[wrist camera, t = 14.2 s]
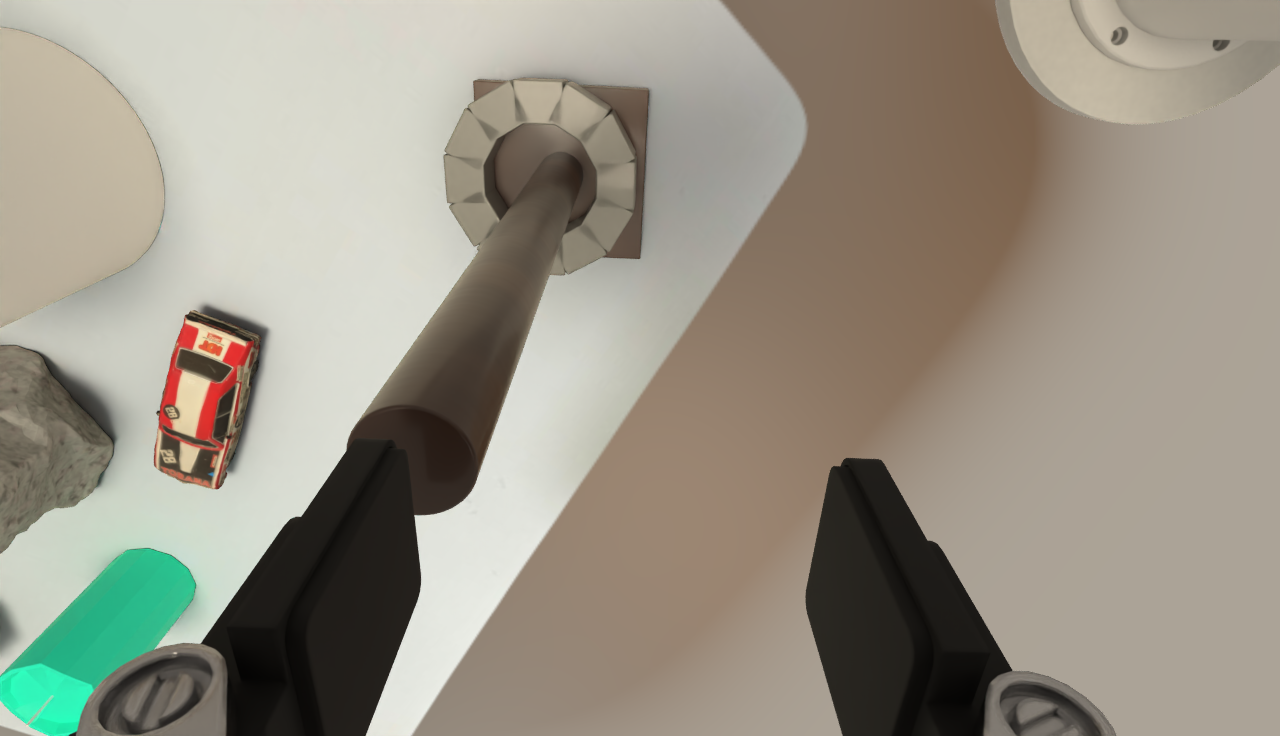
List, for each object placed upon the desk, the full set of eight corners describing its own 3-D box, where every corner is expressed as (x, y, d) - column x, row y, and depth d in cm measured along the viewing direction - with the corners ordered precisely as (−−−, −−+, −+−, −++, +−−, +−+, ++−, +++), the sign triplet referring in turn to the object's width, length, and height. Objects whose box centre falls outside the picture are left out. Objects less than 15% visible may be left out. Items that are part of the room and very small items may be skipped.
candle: (200, 614, 53) (89, 764, 43) (117, 605, 53) (-16, 754, 42) (191, 553, 51) (71, 695, 40) (104, 543, 50) (-41, 683, 40)
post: (648, 88, 37) (675, 233, 11) (640, 253, 41) (644, 651, 15) (477, 79, 37) (89, 205, 11) (485, 245, 41) (214, 636, 15)
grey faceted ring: (639, 82, 36) (638, 83, 34) (633, 264, 40) (632, 278, 38) (451, 75, 36) (436, 76, 34) (463, 258, 40) (451, 271, 37)
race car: (293, 331, 45) (261, 350, 41) (228, 483, 48) (192, 517, 43) (216, 295, 44) (175, 311, 40) (154, 453, 47) (109, 485, 42)
